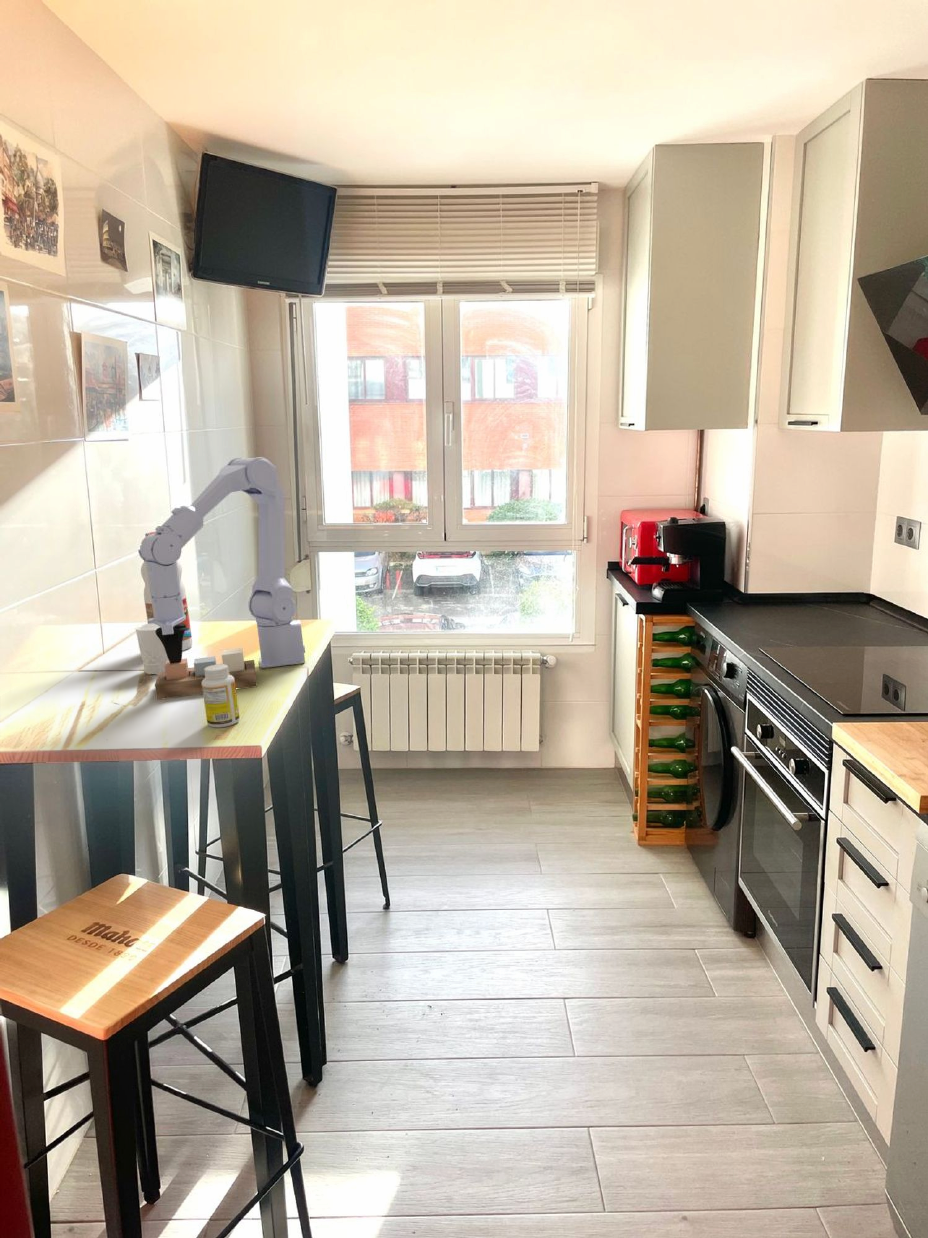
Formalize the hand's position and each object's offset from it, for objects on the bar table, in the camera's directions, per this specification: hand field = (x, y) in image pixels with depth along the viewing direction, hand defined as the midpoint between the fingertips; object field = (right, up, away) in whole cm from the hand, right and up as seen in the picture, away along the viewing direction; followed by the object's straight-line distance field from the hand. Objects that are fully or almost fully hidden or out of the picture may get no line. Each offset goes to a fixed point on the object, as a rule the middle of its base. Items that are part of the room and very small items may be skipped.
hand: (175, 662), depth 182 cm
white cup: (-9, -3, +17) cm, 20 cm away
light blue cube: (+6, -4, +2) cm, 7 cm away
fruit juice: (-12, +1, +37) cm, 39 cm away
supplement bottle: (+15, -10, -22) cm, 28 cm away
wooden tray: (+6, -5, +2) cm, 8 cm away
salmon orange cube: (0, -4, +1) cm, 4 cm away
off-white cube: (+11, -2, +3) cm, 11 cm away
